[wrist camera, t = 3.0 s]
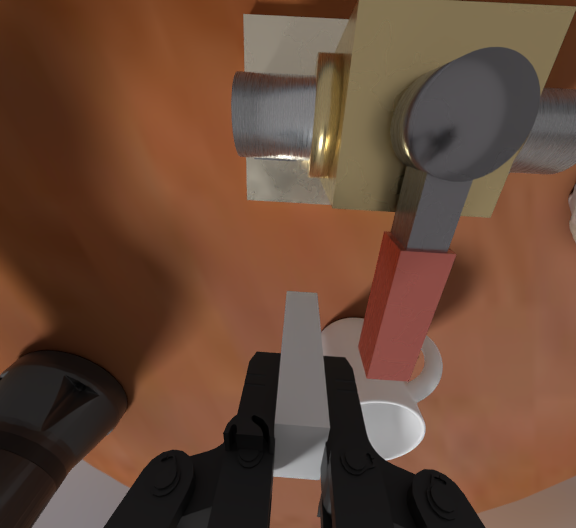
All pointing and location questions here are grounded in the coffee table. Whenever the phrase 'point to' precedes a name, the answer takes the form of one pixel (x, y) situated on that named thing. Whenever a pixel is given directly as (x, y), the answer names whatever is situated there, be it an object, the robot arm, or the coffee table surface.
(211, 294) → the coffee table surface
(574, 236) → the sculpture
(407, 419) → the mug
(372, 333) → the lever
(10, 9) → the coffee table surface
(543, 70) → the valve body
